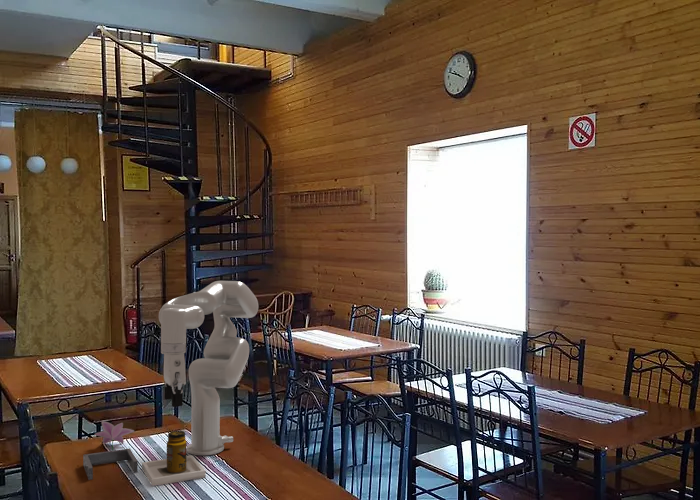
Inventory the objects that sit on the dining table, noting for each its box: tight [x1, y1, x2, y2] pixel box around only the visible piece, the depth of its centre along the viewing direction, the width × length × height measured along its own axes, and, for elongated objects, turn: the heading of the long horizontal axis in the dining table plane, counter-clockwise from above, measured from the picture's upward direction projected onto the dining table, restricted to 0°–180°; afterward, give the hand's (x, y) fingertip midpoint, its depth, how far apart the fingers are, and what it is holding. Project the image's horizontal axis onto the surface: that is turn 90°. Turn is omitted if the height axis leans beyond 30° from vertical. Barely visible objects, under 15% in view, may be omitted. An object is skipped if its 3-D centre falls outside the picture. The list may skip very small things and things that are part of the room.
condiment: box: [157, 430, 190, 476], centre depth 209 cm, size 7×8×12 cm
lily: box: [94, 420, 135, 451], centre depth 233 cm, size 12×12×10 cm
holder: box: [82, 447, 139, 481], centre depth 212 cm, size 14×14×4 cm
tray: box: [141, 454, 207, 487], centre depth 209 cm, size 16×16×2 cm
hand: (173, 402), depth 209 cm, fingers open, 9 cm apart
